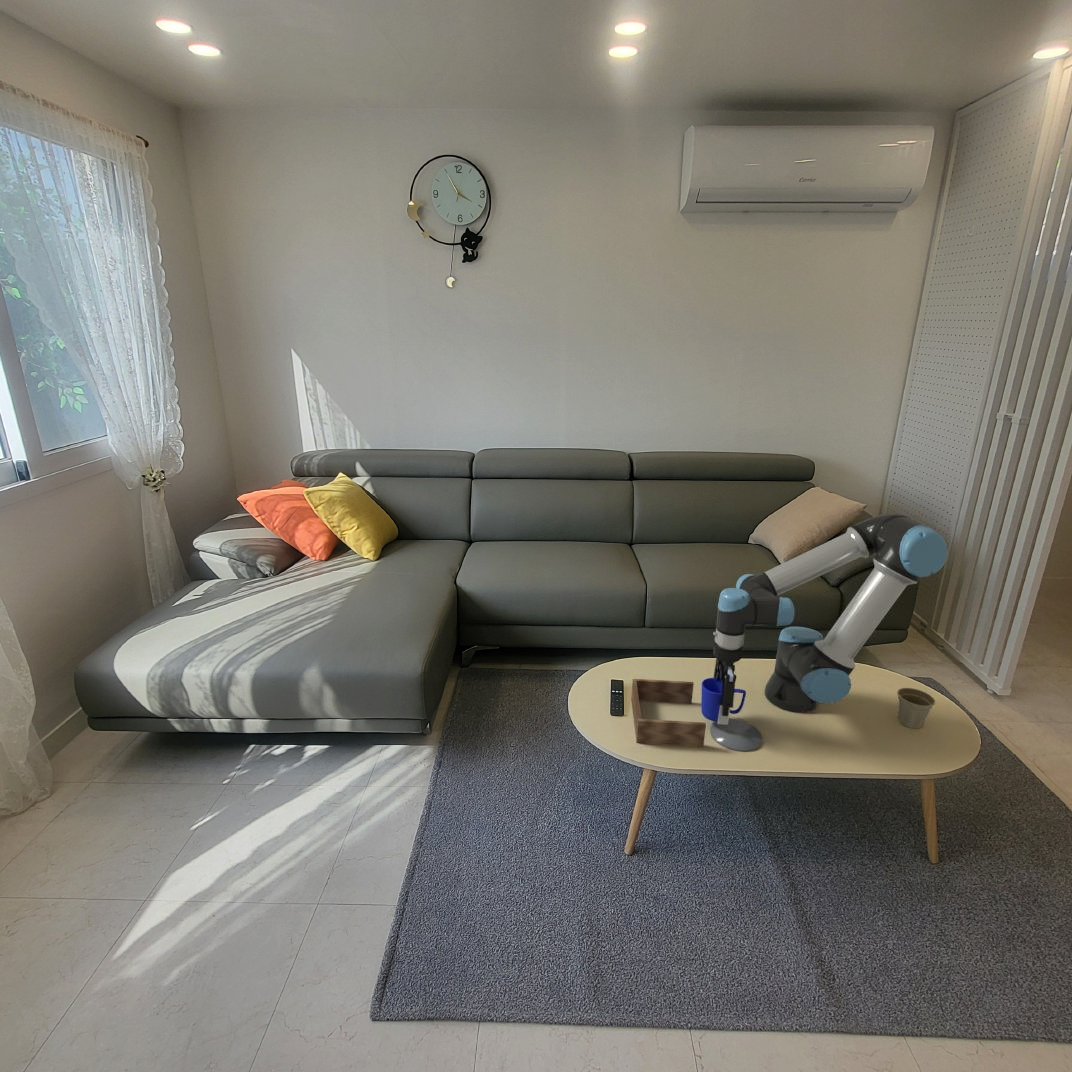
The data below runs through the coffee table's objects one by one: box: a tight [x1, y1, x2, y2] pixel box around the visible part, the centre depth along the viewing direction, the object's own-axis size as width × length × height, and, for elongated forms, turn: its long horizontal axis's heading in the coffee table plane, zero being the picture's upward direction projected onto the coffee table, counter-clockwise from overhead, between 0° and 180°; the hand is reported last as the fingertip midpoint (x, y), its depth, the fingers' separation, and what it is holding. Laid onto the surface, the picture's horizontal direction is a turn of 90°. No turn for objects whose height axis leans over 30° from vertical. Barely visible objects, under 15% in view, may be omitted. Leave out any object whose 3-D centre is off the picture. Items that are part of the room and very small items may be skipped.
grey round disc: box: [709, 717, 764, 753], centre depth 170 cm, size 14×14×1 cm
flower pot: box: [896, 687, 936, 729], centre depth 175 cm, size 9×9×9 cm
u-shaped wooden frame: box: [630, 678, 707, 748], centre depth 175 cm, size 18×21×7 cm
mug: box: [700, 677, 747, 722], centre depth 172 cm, size 8×12×10 cm
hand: (719, 715), depth 174 cm, fingers closed on mug, 7 cm apart
